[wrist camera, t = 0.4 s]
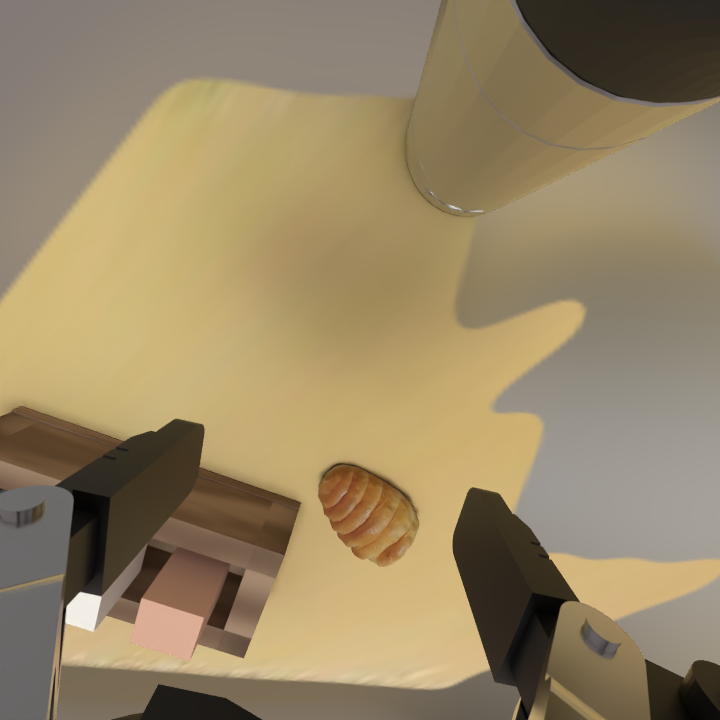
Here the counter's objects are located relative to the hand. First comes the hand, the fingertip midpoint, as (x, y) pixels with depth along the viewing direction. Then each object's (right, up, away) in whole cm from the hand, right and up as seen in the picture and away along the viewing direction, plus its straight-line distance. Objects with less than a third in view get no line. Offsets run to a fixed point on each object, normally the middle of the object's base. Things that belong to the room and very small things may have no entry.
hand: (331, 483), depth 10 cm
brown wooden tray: (-19, -10, +22) cm, 31 cm away
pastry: (+2, -10, +22) cm, 24 cm away
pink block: (-13, -14, +19) cm, 26 cm away
